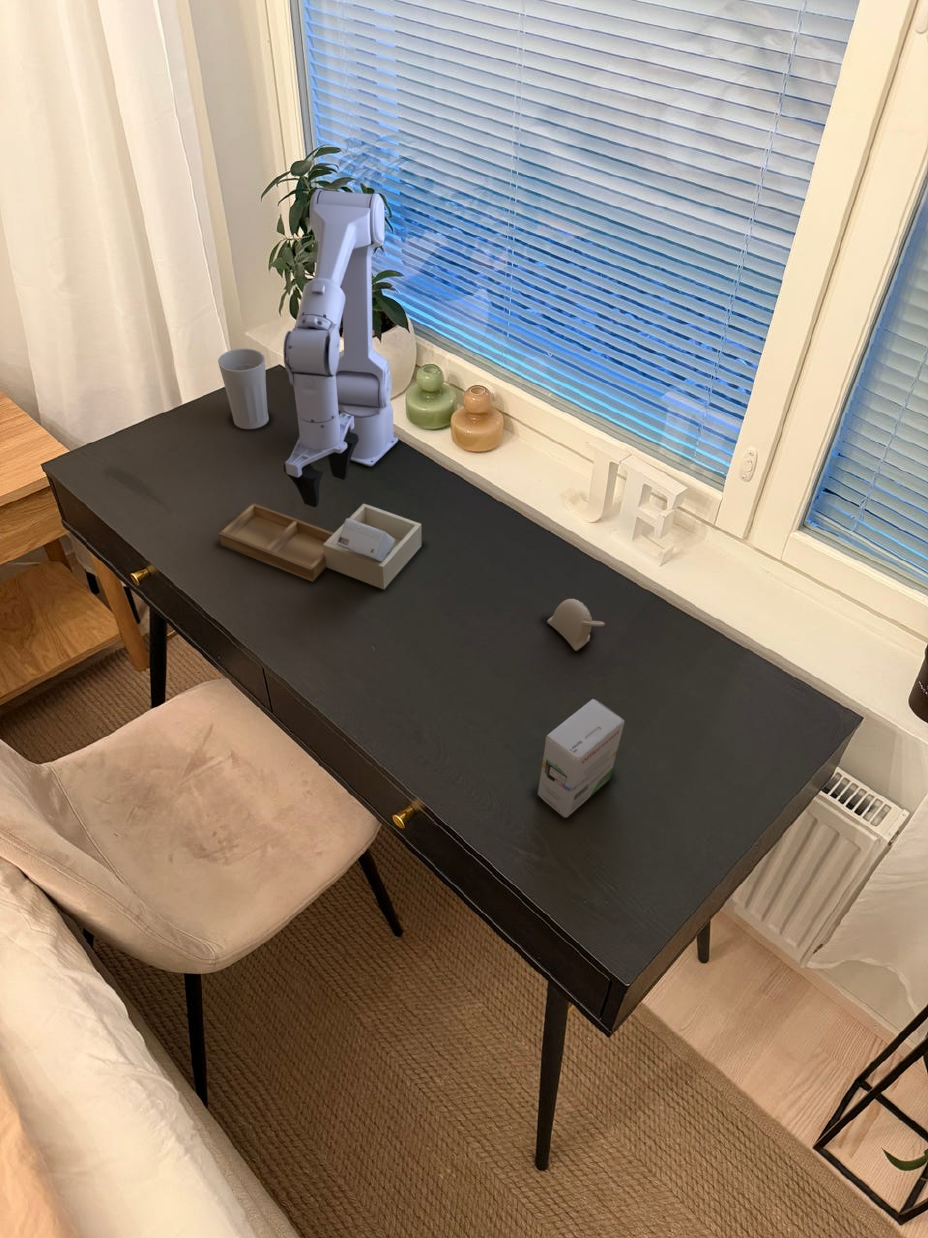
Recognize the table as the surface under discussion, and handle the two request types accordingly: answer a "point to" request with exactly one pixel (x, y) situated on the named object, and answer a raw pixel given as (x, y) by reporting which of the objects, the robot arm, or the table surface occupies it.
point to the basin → (368, 569)
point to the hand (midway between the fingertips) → (325, 490)
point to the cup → (245, 386)
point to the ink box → (579, 757)
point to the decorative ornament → (573, 622)
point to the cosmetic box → (365, 540)
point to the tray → (278, 541)
